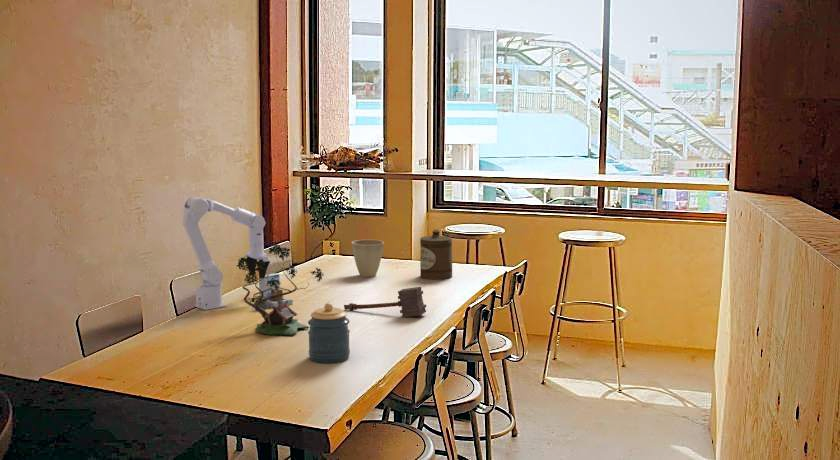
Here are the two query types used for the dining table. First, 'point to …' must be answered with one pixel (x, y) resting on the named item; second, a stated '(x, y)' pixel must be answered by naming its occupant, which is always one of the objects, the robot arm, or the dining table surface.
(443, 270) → the wooden container
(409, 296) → the hammer
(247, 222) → the robot arm
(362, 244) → the plant pot
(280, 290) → the block
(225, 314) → the dining table surface
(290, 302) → the bore block
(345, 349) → the canister
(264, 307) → the rubber stub
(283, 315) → the bonsai tree
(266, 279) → the medicine box
